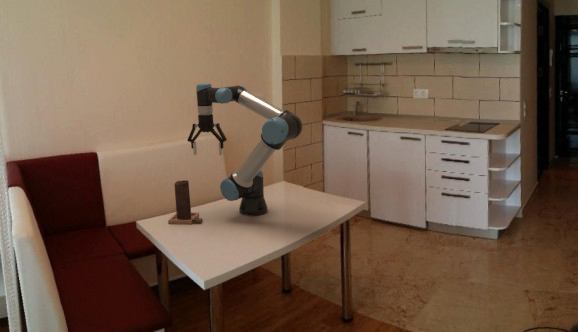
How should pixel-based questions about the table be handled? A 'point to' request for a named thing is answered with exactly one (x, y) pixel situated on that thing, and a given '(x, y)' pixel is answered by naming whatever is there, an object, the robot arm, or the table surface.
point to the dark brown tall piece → (182, 199)
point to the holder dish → (182, 221)
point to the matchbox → (197, 220)
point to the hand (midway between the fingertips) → (207, 154)
